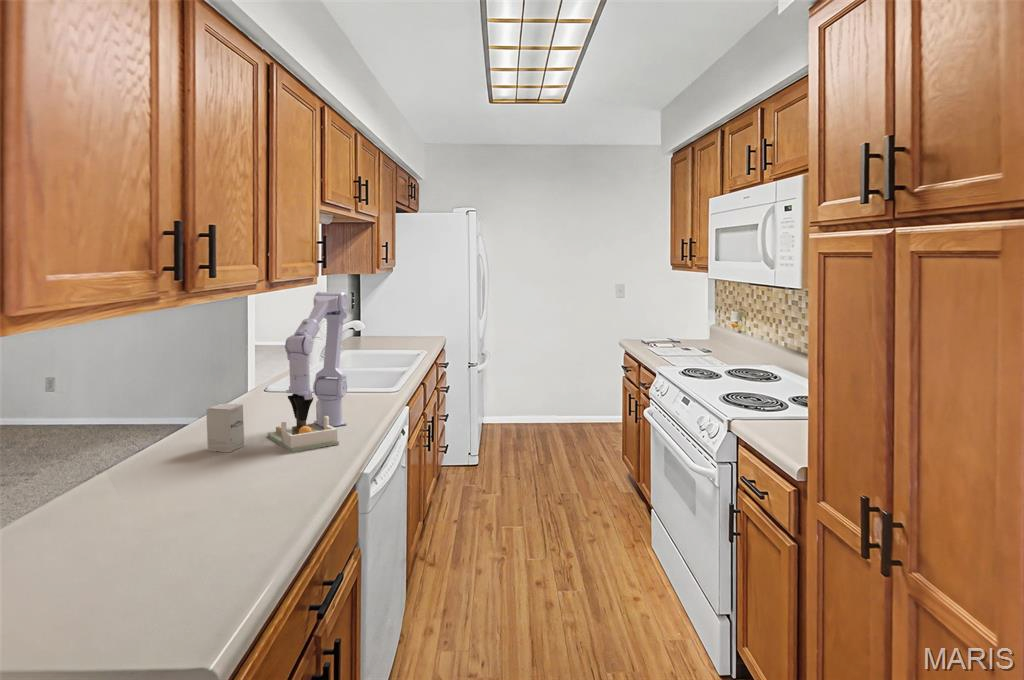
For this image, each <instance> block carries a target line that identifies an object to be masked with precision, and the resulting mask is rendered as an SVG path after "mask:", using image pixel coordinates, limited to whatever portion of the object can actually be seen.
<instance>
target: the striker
mask: <svg viewBox="0 0 1024 680" xmlns="http://www.w3.org/2000/svg"><path fill="white" fill-rule="evenodd" d="M295 420H296V421H295V422H296V426H295V425H294V426H291V429H292V435H296V434H299V429H300V428H301V427H303V426H309V427H310V428H311V427H312V425H310V424H307V420H303V421H299V418H298V412H297V410H296V418H295Z"/></svg>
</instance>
